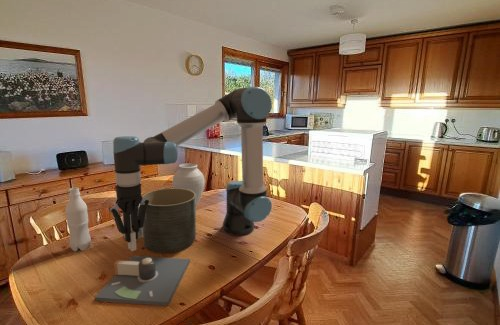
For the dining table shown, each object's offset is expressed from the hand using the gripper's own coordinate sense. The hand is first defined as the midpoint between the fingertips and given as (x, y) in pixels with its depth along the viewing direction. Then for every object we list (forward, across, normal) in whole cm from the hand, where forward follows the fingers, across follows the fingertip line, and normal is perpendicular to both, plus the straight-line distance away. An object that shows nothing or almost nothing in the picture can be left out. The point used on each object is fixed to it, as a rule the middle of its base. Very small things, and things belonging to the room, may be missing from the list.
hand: (132, 248), depth 90 cm
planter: (+8, -21, -8) cm, 23 cm away
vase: (+8, -50, -32) cm, 60 cm away
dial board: (+8, 0, +9) cm, 12 cm away
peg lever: (+6, +2, +5) cm, 9 cm away
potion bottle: (+8, -12, -23) cm, 27 cm away
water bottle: (+8, +6, -29) cm, 31 cm away
